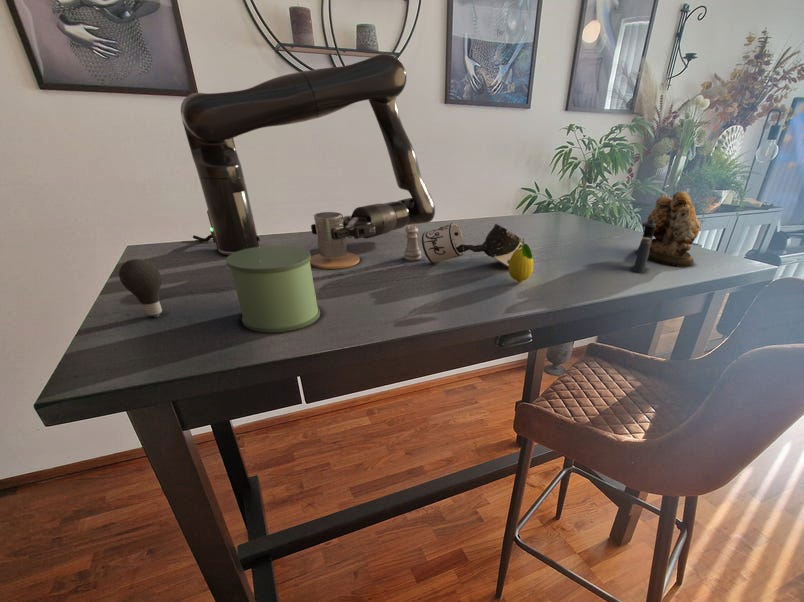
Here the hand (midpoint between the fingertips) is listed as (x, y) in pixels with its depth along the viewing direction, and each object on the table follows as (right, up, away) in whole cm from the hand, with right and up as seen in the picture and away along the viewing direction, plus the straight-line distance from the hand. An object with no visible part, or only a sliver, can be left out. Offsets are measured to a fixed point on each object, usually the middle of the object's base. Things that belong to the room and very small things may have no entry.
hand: (322, 232), depth 102 cm
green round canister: (+1, -23, -22) cm, 32 cm away
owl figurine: (+88, 0, +21) cm, 90 cm away
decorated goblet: (+34, -5, +8) cm, 35 cm away
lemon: (+46, -12, -2) cm, 47 cm away
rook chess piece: (+20, -3, +10) cm, 22 cm away
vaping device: (+77, -6, +10) cm, 78 cm away
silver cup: (+1, -4, +5) cm, 6 cm away
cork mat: (+1, -5, +6) cm, 8 cm away
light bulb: (-21, -23, -24) cm, 39 cm away
